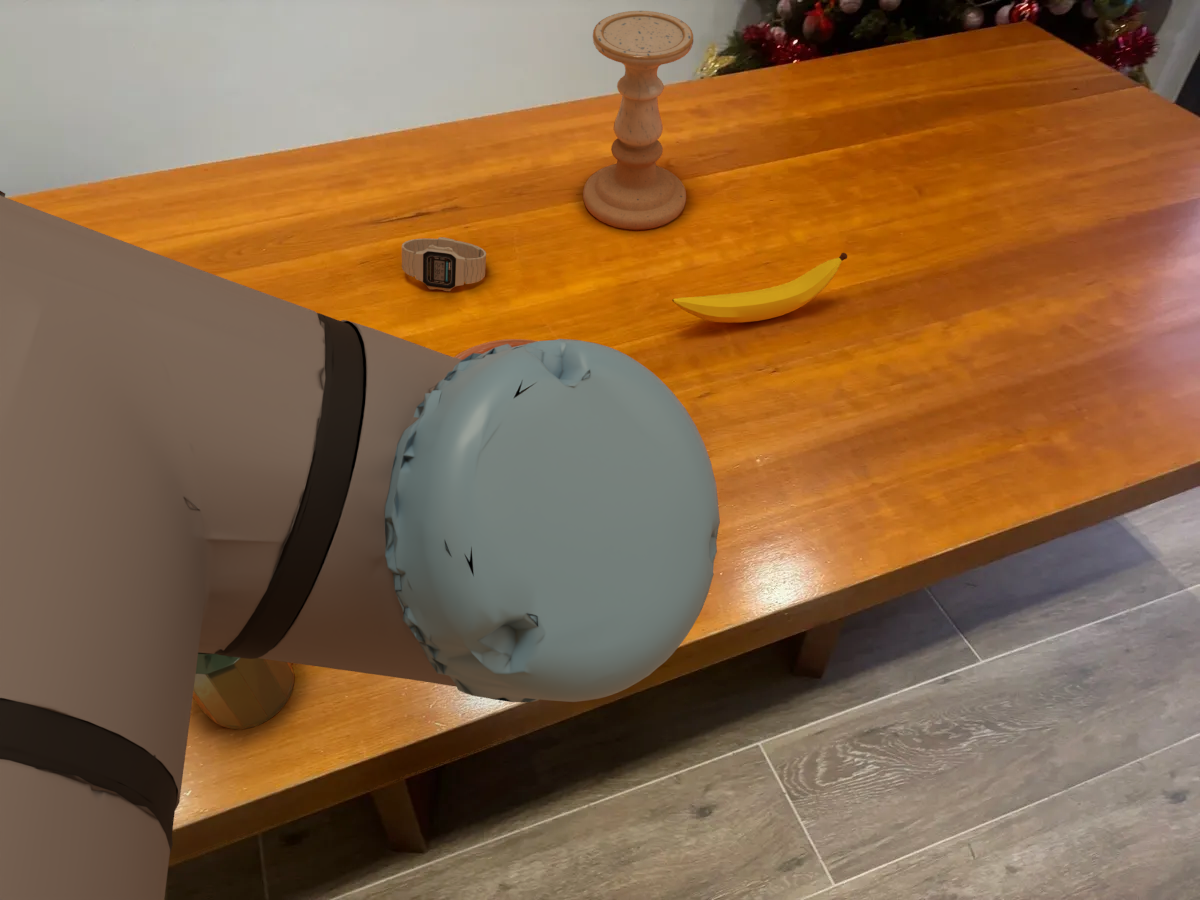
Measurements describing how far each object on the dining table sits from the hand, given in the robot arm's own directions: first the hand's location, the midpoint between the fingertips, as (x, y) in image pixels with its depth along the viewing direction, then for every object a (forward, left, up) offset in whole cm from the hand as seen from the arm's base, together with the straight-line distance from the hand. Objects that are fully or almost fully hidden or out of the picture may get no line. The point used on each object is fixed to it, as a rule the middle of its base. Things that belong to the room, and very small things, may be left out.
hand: (203, 559), depth 47 cm
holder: (-3, +5, -23) cm, 24 cm away
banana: (+53, +25, -23) cm, 63 cm away
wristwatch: (+26, +45, -23) cm, 57 cm away
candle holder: (+51, +49, -23) cm, 75 cm away
